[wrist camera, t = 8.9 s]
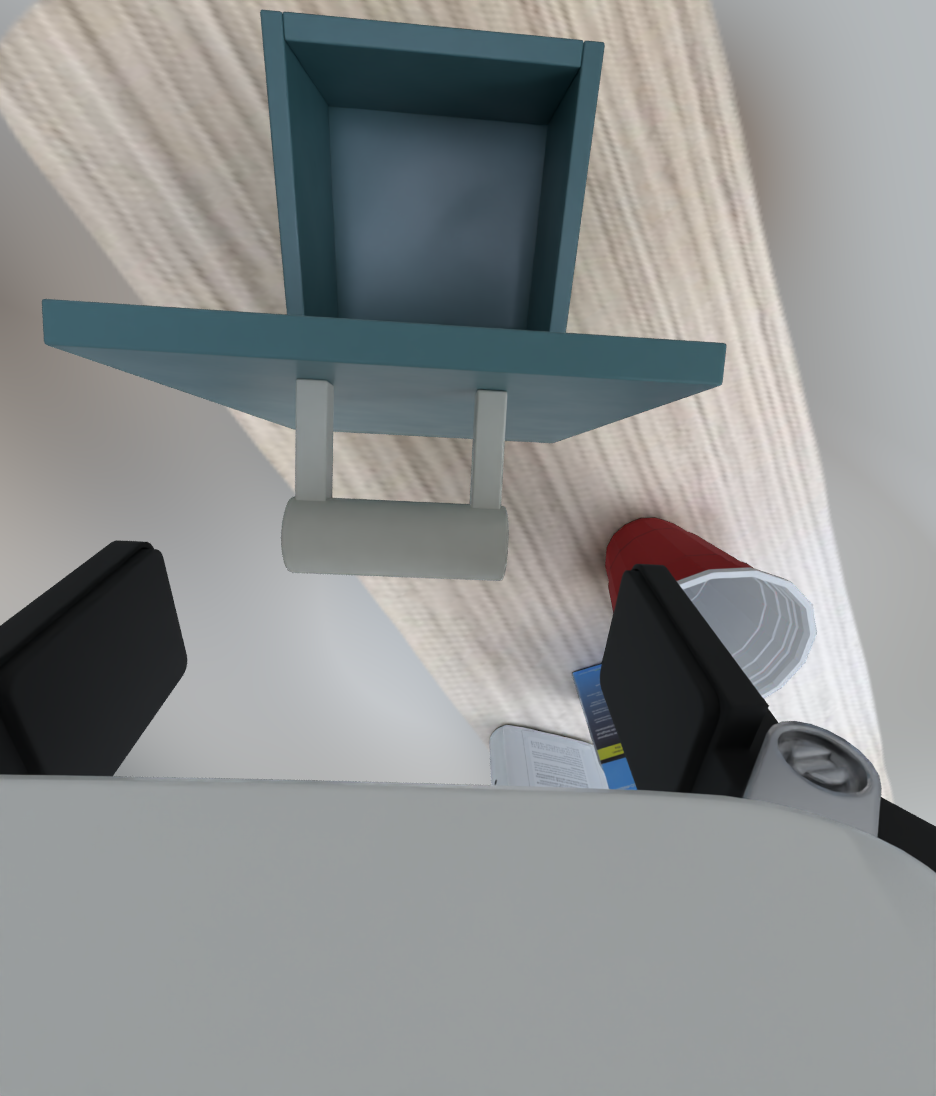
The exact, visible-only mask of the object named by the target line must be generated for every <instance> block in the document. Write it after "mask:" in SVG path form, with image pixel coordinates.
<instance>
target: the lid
mask: <svg viewBox="0 0 936 1096" xmlns="http://www.w3.org/2000/svg"><path fill="white" fill-rule="evenodd" d="M42 314H43V332H44V342H45V344H46V345H48V346H51V347H54V348H57V349H60V350H63V351H66V352H69V353H72V354H75V355H78V356H81V357H83V358H87V359H90V360H92V361H95V362H98V363H101V364H104V365H107V366H110V367H113V368H116V369H119V370H122V371H125V372H127V373H130V374H133V375H136V376H139V377H142V378H145V379H148V380H151V381H154V382H157V383H160V384H162V385H166V386H168V387H171V388H174V389H177V390H180V391H183V392H186V393H189V394H192V395H195V396H198V397H201V398H203V399H206V400H209V401H212V402H215V403H218V404H221V405H224V406H227V407H230V408H233V409H236V410H239V411H241V412H244V413H247V414H250V415H253V416H256V417H259V418H262V419H265V420H268V421H271V422H274V423H277V424H280V425H282V426H285V427H288V428H291V429H295V430H296V459H295V497H292V498H291V499H290V500H289V501H288V503H287V506H286V509H285V512H284V516H283V521H282V530H281V547H282V555H283V560H284V563H285V566H286V568H287V570H288V571H290V572H292V573H313V574H338V575H362V576H388V577H414V578H439V579H465V580H491V581H501V580H502V579H503V577H504V575H505V571H506V564H507V555H508V535H509V529H508V514H507V510H506V507H504V506H501V497H502V479H503V462H504V444H505V441H520V442H539V443H555V442H558V441H561V440H563V439H566V438H569V437H572V436H575V435H578V434H581V433H584V432H587V431H590V430H592V429H595V428H598V427H601V426H604V425H607V424H610V423H613V422H616V421H619V420H622V419H624V418H627V417H630V416H633V415H636V414H639V413H642V412H645V411H648V410H651V409H653V408H656V407H659V406H662V405H665V404H668V403H671V402H674V401H677V400H680V399H682V398H685V397H688V396H691V395H694V394H697V393H700V392H703V391H706V390H709V389H711V388H714V387H717V386H720V385H722V382H723V373H724V363H725V354H726V344H725V343H715V342H700V341H685V340H669V339H654V338H638V337H623V336H608V335H592V334H577V333H561V332H546V331H531V330H515V329H500V328H484V327H469V326H454V325H438V324H423V323H407V322H392V321H377V320H361V319H346V318H330V317H315V316H300V315H284V314H269V313H253V312H238V311H223V310H207V309H192V308H176V307H161V306H146V305H130V304H115V303H99V302H83V301H68V300H52V299H43V300H42ZM333 432H351V433H370V434H389V435H407V436H426V437H445V438H464V439H473V447H472V467H471V488H470V504H453V503H431V502H410V501H388V500H367V499H345V498H332V476H333Z"/></svg>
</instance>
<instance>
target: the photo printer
mask: <svg viewBox="0 0 936 1096" xmlns="http://www.w3.org/2000/svg"><path fill="white" fill-rule="evenodd" d="M489 743H490V765H491V783H492V785H502V786H535V787H569V788H593V789H609V788H608V784H607V781H606V777H605V774H604V772H603V770H602V768H601V767H600V765H599V762H598V759H597V755H596V752H595V749H594V746H593V745H591V744H588V743H586V742H582V741H578V740H574V739H570V738H566V737H562V736H558V735H554V734H549V733H545V732H541V731H536V730H532V729H528V728H523V727H518V726H511V725H504V726H503V727H499V728H498V729H496V730H495V731H494V732H493V734H492V735H491V737H490V742H489Z"/></svg>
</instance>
